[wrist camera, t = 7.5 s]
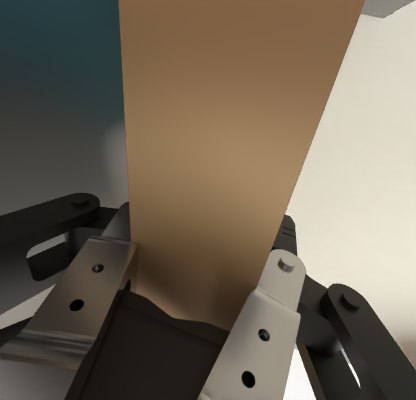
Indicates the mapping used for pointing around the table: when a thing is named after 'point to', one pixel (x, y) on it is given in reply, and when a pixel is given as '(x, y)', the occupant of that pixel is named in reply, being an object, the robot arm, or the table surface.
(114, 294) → the robot arm
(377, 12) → the endcap
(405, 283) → the table surface
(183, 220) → the light brown long bar
